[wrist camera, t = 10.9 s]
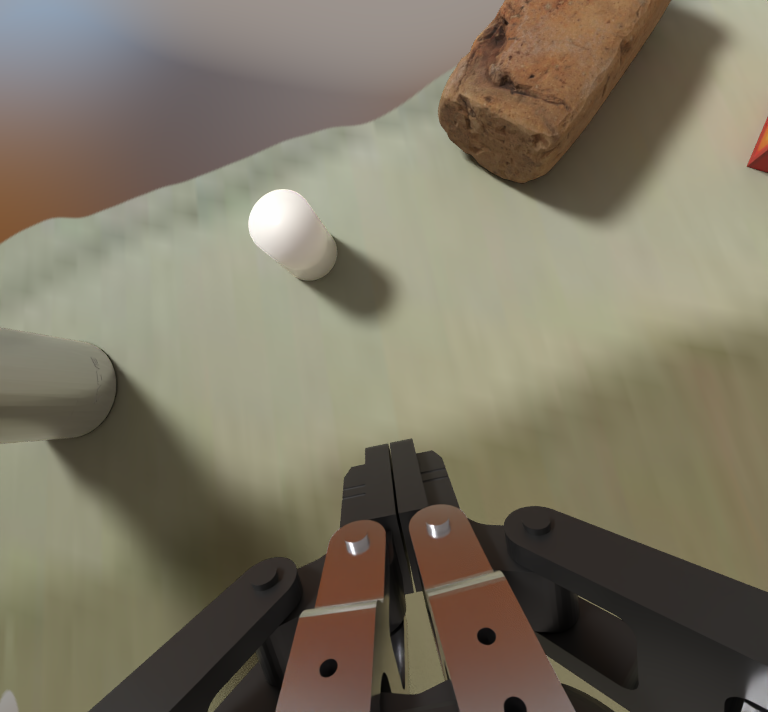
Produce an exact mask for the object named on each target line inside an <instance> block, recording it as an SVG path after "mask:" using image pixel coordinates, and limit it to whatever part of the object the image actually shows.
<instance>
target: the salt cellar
mask: <svg viewBox="0 0 768 712" xmlns="http://www.w3.org/2000/svg"><path fill="white" fill-rule="evenodd" d="M249 232H250V235H251V238H252V240H253V241H254V243H255V244H256V245H257V246H258V247H259V248H261V249H262V250H263V251H264V252H265V253H267V254H268V255H269V256H270V257H272V258H273V259H274V260H275V261H276V262H278V263H279V264H280V265H281V266H282V267H284V268H285V269H286V270H287V271H289V272H290V273H291V274H292V275H293V276H295V277H296V278H298V279H301V280H305V281H313V280H317V279H320V278H322V277H323V276H325V275H326V274H327V273H328V272H330V270H331V269H332V268H333V266H334V264H335V262H336V258H337V246H336V243H335V241H334V239H333V237H332V236H331V235H330V233H329V232H328V230H327V229H326V228H325V226H324V225H323V223H322V222H321V220H320V219H319V218H318V216H317V215H316V213H315V212H314V210H313V209H312V208H311V206H310V205H309V203H308V202H307V201H306V199H305V198H304V197H303V196H302V195H300V194H299V193H297V192H295V191H292V190H287V189H280V190H275V191H272V192H270V193H267V194H266V195H264V196H263V197H262V198H260V199H259V200H258V201H257V203H256V204H255V205H254V207H253V209H252V211H251V214H250V217H249Z"/></svg>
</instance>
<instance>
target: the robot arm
mask: <svg viewBox="0 0 768 712" xmlns="http://www.w3.org/2000/svg"><path fill="white" fill-rule="evenodd" d="M115 394H116V376H115V371H114V368H113V366H112V363H111V361H110V360H109V358H108V357H107V355H106V354H105V353H104V352H103V351H102V350H101V349H100V348H98V347H96V346H95V345H93V344H90V343H86V342H82V341H76V340H70V339H64V338H58V337H52V336H47V335H42V334H36V333H30V332H24V331H18V330H12V329H6V328H0V444H5V443H16V442H28V441H41V440H52V439H63V438H73V437H79V436H82V435H85V434H87V433H90V432H91V431H92V430H94V429H95V428H97V427H98V426H99V425H100V424H101V423H102V422H103V421H104V419H105V418H106V416H107V415H108V413H109V412H110V410H111V407H112V405H113V402H114V399H115ZM390 449H391V453H390ZM390 449H389V445H388V444H383V445H378V446H373V447H368V448H365V464H364V465H360V466H355V467H351V469H350V470H349V472H348V473H347V474H346V476H345V477H344V486H343V490H344V491H343V500H342V509H341V521H340V529H339V530H337V531H336V532H335V533H334V535H333V536H332V537H331V539H330V541H329V544H328V549H327V553H326V554H325V555H324V556H323V557H321V558H319V559H318V560H316V561H314V562H312V563H310V564H307V565H305V566H303V567H301V568H299V569H297V568H296V565H295V563H294V562H293V561H292V560H290V559H288V558H284V557H275V558H270V559H266V560H264V561H261V562H259V563H258V564H256V565H254V566H253V567H251V568H250V569H249V570H247V571H246V572H245V573H244V574H243V575H242V576H241V577H239V578H238V579H237V580H236V581H235V582H234V583H233V584H232V585H230V586H229V587H228V588H227V589H226V590H225V591H224V592H223V593H221V594H220V595H219V596H218V597H217V598H216V599H215V600H214V601H212V602H211V603H210V604H209V605H208V606H207V607H206V608H205V609H203V610H202V611H201V612H200V613H199V614H198V615H197V616H196V617H194V618H193V619H192V620H191V621H190V622H189V623H188V624H187V625H185V626H184V627H183V628H182V629H181V630H180V631H179V632H178V633H176V634H175V635H174V636H173V637H172V638H171V639H170V640H169V641H167V642H166V643H165V644H164V645H163V646H162V647H161V648H160V649H158V650H157V651H156V652H155V653H154V654H153V655H152V656H150V657H149V658H148V659H147V660H146V661H145V662H144V663H143V664H141V665H140V666H139V667H138V668H137V669H136V670H135V671H134V672H132V673H131V674H130V675H129V676H128V677H127V678H126V679H125V680H123V681H122V682H121V683H120V684H119V685H118V686H117V687H116V688H114V689H113V690H112V691H111V692H110V693H109V694H108V695H107V696H105V697H104V698H103V699H102V700H101V701H100V702H99V703H98V704H96V705H95V706H94V707H93V708H92V709H91V710H90V711H89V712H207V711H208V708H209V706H210V703H211V702H212V700H213V698H214V697H215V695H216V694H217V693H218V692H219V691H220V689H221V688H222V687H223V686H224V685H225V684H226V683H227V682H228V681H229V680H230V679H231V678H232V676H233V675H234V674H235V673H236V672H237V671H238V670H239V669H240V668H241V667H242V666H243V664H244V663H245V662H246V661H247V660H248V659H249V658H250V657H251V656H252V655H253V654H254V653H255V652H256V655H257V658H258V660H259V661H258V663H257V664H256V665H255V666H254V667H253V668H252V669H251V670H250V672H249V673H248V674H247V675H246V676H245V677H244V678H243V679H242V680H241V682H240V683H239V684H238V685H237V686H236V687H235V688H234V689H233V690H232V692H231V693H230V694H229V695H228V696H227V697H226V698H225V699H224V701H223V702H222V703H221V704H220V705H219V706H218V707H217V708H216V709H215V711H214V712H614V711H613V710H611V709H610V708H609V707H607V706H606V705H604V704H603V703H601V702H600V701H598V700H597V699H595V698H593V697H591V696H590V695H588V694H586V693H584V692H582V691H580V690H578V689H575V688H573V687H571V686H568V685H565V684H562V683H560V681H559V679H558V677H557V675H556V673H555V671H554V670H553V668H552V666H551V664H550V662H549V660H548V658H547V656H548V657H550V658H551V659H553V660H554V661H556V662H557V663H559V664H560V665H562V666H563V667H565V668H566V669H568V670H569V671H571V672H572V673H574V674H575V675H577V676H578V677H580V678H581V679H583V680H584V681H586V682H587V683H589V684H590V685H591V686H593V687H594V688H596V689H597V690H599V691H600V692H602V693H603V694H605V695H606V696H608V697H609V698H611V699H612V700H614V701H615V702H617V703H618V704H620V705H621V706H623V707H624V708H626V709H627V710H629V711H630V712H768V592H766V591H763V590H760V589H758V588H755V587H753V586H750V585H747V584H745V583H742V582H740V581H737V580H734V579H732V578H729V577H727V576H724V575H721V574H719V573H716V572H714V571H711V570H708V569H706V568H703V567H701V566H698V565H696V564H693V563H690V562H688V561H685V560H683V559H680V558H677V557H675V556H672V555H670V554H667V553H664V552H662V551H659V550H657V549H654V548H651V547H649V546H646V545H644V544H641V543H638V542H636V541H633V540H631V539H628V538H625V537H623V536H620V535H618V534H615V533H612V532H610V531H607V530H605V529H602V528H600V527H597V526H594V525H592V524H589V523H587V522H584V521H581V520H579V519H576V518H574V517H571V516H568V515H566V514H563V513H561V512H558V511H555V510H553V509H550V508H546V507H540V506H530V507H524V508H520V509H517V510H515V511H514V512H512V513H511V514H509V516H508V517H507V518H506V520H505V522H504V526H501V525H485V524H480V523H477V522H474V521H472V520H470V519H469V518H467V517H466V515H465V514H464V512H463V511H462V510H460V507H459V505H458V502H457V499H456V496H455V493H454V491H453V488H452V485H451V482H450V479H449V477H448V474H447V471H446V468H445V465H444V462H443V460H442V457H440V456H439V455H438V454H436V453H435V452H434V451H427V452H422V453H417V454H416V452H415V448H414V444H413V440H412V439H407V440H402V441H397V442H392V443H390ZM391 457H392V458H391ZM410 566H411V569H410ZM411 570H412V575H413V579H414V584H415V588H416V592H419V591H423V595H424V599H425V603H426V608H427V613H428V617H429V622H430V626H431V630H432V633H433V637H434V641H435V645H436V649H437V653H438V657H439V660H440V664H441V668H442V672H443V676H444V680H445V681H444V682H442V683H440V684H438V685H436V686H434V687H432V688H430V689H428V690H426V691H424V692H422V693H420V694H415V695H411V694H410V692H409V657H408V625H407V619H406V615H405V613H406V602H405V594H410V593H414V591H413V584H412V577H411ZM578 595H579V596H581V597H582V598H584V599H586V600H588V601H590V602H592V603H594V604H596V605H598V606H600V607H602V608H603V609H605V610H607V611H609V612H611V613H613V614H615V615H616V616H618V617H619V618H621V619H622V620H621V619H619V618H617V617H615V616H614V615H612V614H610V613H608V612H606V611H604V610H602V609H600V608H598V607H597V606H595V605H593V604H591V603H589V602H587V601H585V600H583V599H581V598H579V597H578ZM546 655H547V656H546Z"/></svg>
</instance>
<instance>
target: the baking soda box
mask: <svg viewBox="0 0 768 712" xmlns="http://www.w3.org/2000/svg"><path fill="white" fill-rule="evenodd" d="M747 167H750V168H754V169H757V170H760V171H764V172H767V173H768V117H767V120H766V122H765V125H764V127H763V129H762V132H761V134H760V136H759V139H758V141H757V144H756V146H755V148H754V151H753V153H752V155H751V158H750V160H749V163H748V165H747Z"/></svg>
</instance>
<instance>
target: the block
mask: <svg viewBox="0 0 768 712" xmlns="http://www.w3.org/2000/svg"><path fill="white" fill-rule="evenodd" d="M670 2H671V0H505V1H504V3H503V5H502V6H501V8H500V10H499V12H498V14H497V16H496V17H495V19H494V20H493V21H492V22H491V23H490V24H489V26H488V27H487V28H486V29H485V30H484V31H483V32H482V33H481V34H480V35H479V36H478V37H477V38H476V40H475V41H474V43H473V45H472V48H471V51H470V52H469V53H468V54H467V55H466V56H465V57H464V58H462V59H461V60H460V62H459V63H458V65H457V67H456V69H455V70H454V71H453V73H452V74H451V76H450V78H449V80H448V81H447V83H446V86H445V88H444V90H443V93H442V96H441V99H440V103H439V108H438V116H439V121H440V124H441V126H442V127H443V129H444V130H445V131H446V132H447V134H448V137H449V139H450V140H451V141H452V142H453V143H455V144H456V145H457V146H458V147H459V148H460V149H462V150H463V151H464V152H465V153H467V154H471V155H472V156H473V157H474V158H475V159H476V161H477V162H478V163H479V164H480V165H481V166H482V167H484V168H486V169H488V170H489V171H490V172H492V173H494V174H496V175H497V176H499V177H501V178H504V179H508V180H512V181H514V182H519V183H525V182H527V181H529V180H534V179H536V178H538V177H540V176H543V175H545V174H546V173H547V172H549V171H550V169H551V168H552V167H553V166H554V165H555V164H556V163H557V162H558V161H559V160H560V158H561V157H562V156H563V155H564V154H565V153H566V152H567V150H568V149H569V148H570V147H571V145H572V144H573V143H574V142H575V141H576V139H577V138H578V137H579V136H580V134H581V133H582V132H583V131H584V129H585V128H586V127H587V125H588V124H589V123H590V121H591V120H592V118H593V117H594V116H595V114H596V113H597V111H598V110H599V108H600V107H601V106H602V104H603V103H604V101H605V100H606V98H607V97H608V95H609V94H610V92H611V91H612V90H613V88H614V87H615V86H616V84H617V83H618V81H619V80H620V78H621V77H622V75H623V74H624V72H625V71H626V69H627V68H628V67H629V65H630V64H631V62H632V61H633V59H634V58H635V56H636V55H637V53H638V52H639V50H640V49H641V47H642V46H643V44H644V43H645V41H646V40H647V38H648V37H649V35H650V34H651V32H652V31H653V29H654V28H655V26H656V25H657V23H658V22H659V20H660V18H661V17H662V15H663V14H664V12H665V10H666V8H667V7H668V5H669V3H670Z"/></svg>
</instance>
